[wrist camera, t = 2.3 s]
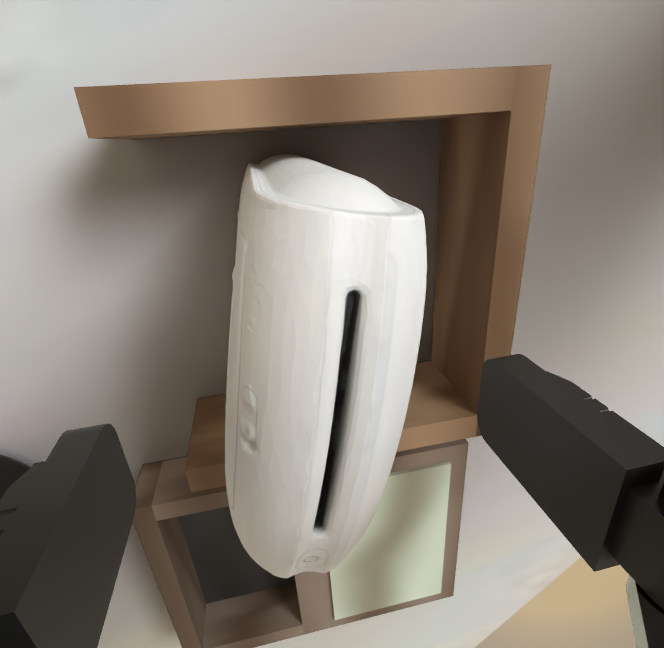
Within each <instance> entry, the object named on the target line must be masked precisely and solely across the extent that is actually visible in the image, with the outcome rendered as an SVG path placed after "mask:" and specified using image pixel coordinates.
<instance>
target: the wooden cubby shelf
mask: <svg viewBox="0 0 664 648" xmlns="http://www.w3.org/2000/svg"><path fill="white" fill-rule="evenodd" d="M550 70H551V65H533V66H512V67H491V68H470V69H449V70H428V71H407V72H386V73H365V74H344V75H323V76H302V77H281V78H260V79H239V80H218V81H197V82H177V83H156V84H135V85H114V86H93V87H74V90H75V93H76V97H77V100H78V104H79V107H80V111H81V114H82V118H83V121H84V124H85V128H86V131H87V135H88V138H97V139H147V138H161V137H176V136H191V135H206V134H221V133H236V132H251V131H266V130H280V129H295V128H310V127H325V126H340V125H355V124H370V123H385V122H399V121H414V120H429V119H442V136H441V158H440V180H439V202H438V224H437V246H436V268H435V290H434V312H433V334H432V356H431V361H426V362H420V363H416V368H415V374H414V379H413V384H412V389H411V394H410V399H409V404H408V408H407V413H406V417H405V421H404V425H403V429H402V433H401V437H400V440H399V444H398V448H397V451H396V452H399V451H404V450H409V449H415V448H420V447H425V446H430V445H435V444H440V443H445V442H450V441H455V440H460V439H465V438H470V437H475V436H481V435H482V434H481V432H480V429H479V426H478V421H477V411H478V402H479V393H480V383H481V374H482V367H483V364H484V362H485V361H486V360H488V359H492V358H498V357H504V356H510V355H511V348H512V341H513V334H514V327H515V320H516V313H517V306H518V298H519V291H520V284H521V277H522V270H523V263H524V256H525V248H526V241H527V234H528V227H529V220H530V213H531V206H532V199H533V191H534V184H535V177H536V170H537V163H538V156H539V149H540V141H541V134H542V127H543V120H544V113H545V106H546V99H547V91H548V84H549V77H550ZM225 417H226V394H224V395H218V396H212V397H206V398H200V399H197V405H196V410H195V416H194V422H193V427H192V433H191V438H190V444H189V449H188V455H187V461H186V466H185V473H186V476H187V480H188V483H189V487H190V490H191V492H196V491H201V490H206V489H211V488H216V487H222V486H226V476H225Z"/></svg>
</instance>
